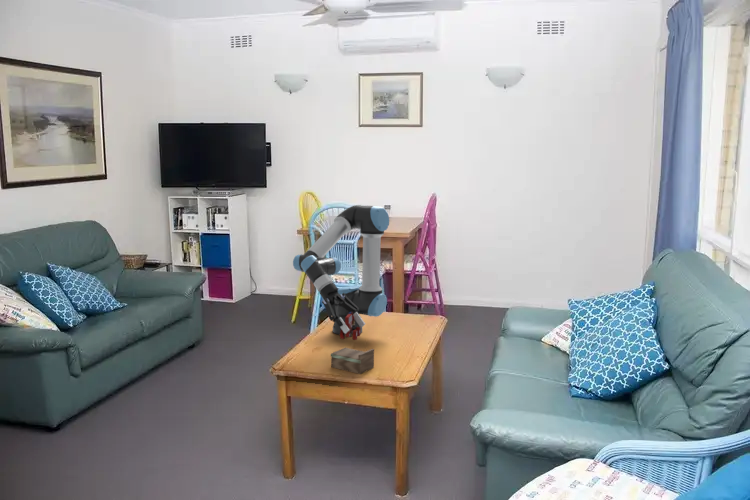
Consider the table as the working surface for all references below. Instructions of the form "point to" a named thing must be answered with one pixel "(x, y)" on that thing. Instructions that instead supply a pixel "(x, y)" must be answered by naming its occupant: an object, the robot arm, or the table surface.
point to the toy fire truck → (350, 327)
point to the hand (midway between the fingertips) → (355, 328)
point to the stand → (353, 360)
